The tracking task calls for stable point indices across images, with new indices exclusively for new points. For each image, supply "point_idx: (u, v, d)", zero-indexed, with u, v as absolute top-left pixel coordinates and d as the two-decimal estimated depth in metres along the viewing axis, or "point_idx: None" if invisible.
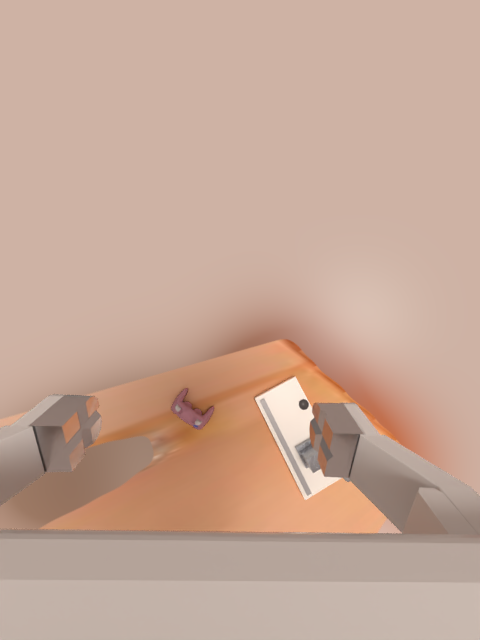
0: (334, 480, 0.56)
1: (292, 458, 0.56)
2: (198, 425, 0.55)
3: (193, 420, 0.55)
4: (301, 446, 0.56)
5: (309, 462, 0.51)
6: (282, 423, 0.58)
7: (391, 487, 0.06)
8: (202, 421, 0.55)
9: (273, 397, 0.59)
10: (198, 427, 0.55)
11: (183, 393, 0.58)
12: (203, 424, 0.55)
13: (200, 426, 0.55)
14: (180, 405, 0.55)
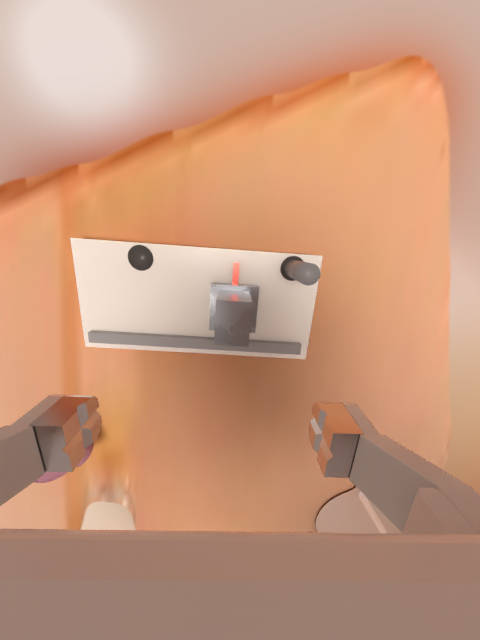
0: (314, 289, 0.25)
1: None
2: None
3: None
4: (211, 317, 0.25)
5: (223, 341, 0.20)
6: (157, 323, 0.26)
7: (391, 487, 0.06)
8: None
9: (97, 309, 0.26)
10: (80, 461, 0.29)
11: None
12: None
13: None
14: None
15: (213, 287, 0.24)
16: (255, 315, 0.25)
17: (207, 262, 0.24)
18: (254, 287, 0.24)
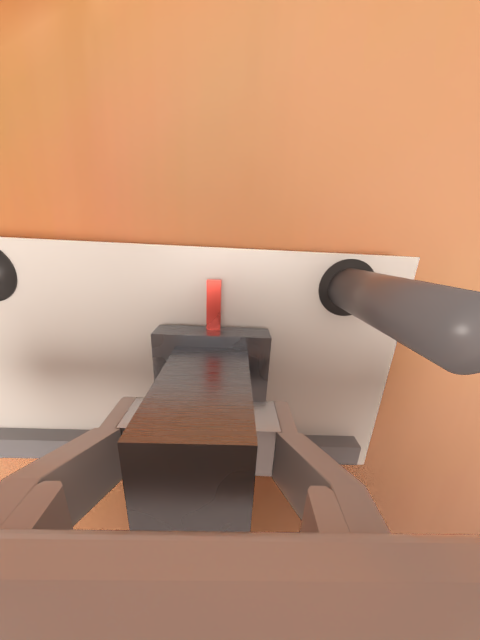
0: None
1: None
2: None
3: None
4: None
5: None
6: (52, 408, 0.12)
7: (300, 485, 0.06)
8: None
9: None
10: None
11: None
12: None
13: None
14: None
15: (157, 342, 0.10)
16: (262, 399, 0.11)
17: (146, 279, 0.10)
18: (259, 338, 0.10)
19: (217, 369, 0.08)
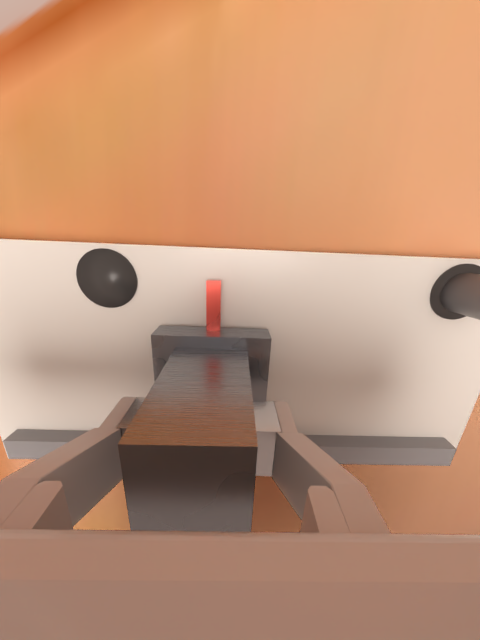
0: None
1: None
2: None
3: None
4: None
5: None
6: None
7: (300, 485, 0.06)
8: None
9: (23, 391, 0.12)
10: None
11: None
12: None
13: None
14: None
15: (157, 343, 0.10)
16: (263, 400, 0.11)
17: (263, 284, 0.10)
18: (259, 338, 0.10)
19: (217, 370, 0.08)
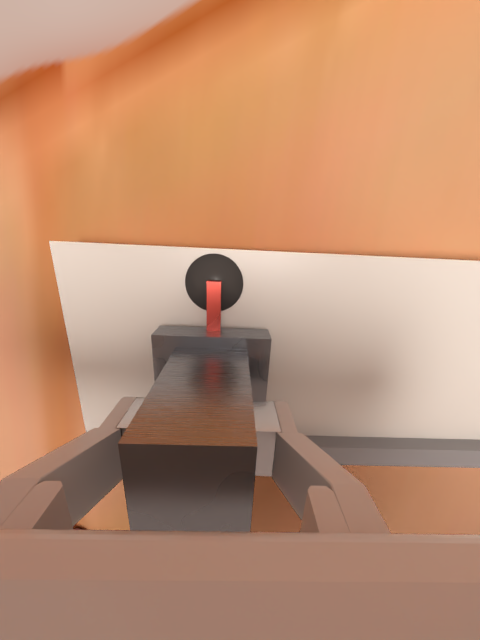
0: None
1: (382, 454, 0.13)
2: None
3: None
4: None
5: None
6: None
7: (300, 485, 0.06)
8: None
9: (115, 393, 0.12)
10: None
11: None
12: None
13: None
14: None
15: (158, 343, 0.10)
16: (262, 400, 0.11)
17: (365, 289, 0.11)
18: (259, 339, 0.10)
19: (217, 370, 0.08)
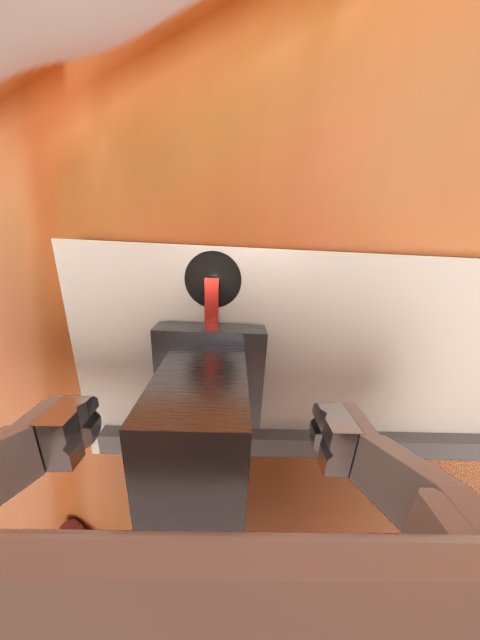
0: None
1: None
2: None
3: None
4: None
5: None
6: None
7: (391, 487, 0.06)
8: None
9: (116, 388, 0.12)
10: None
11: None
12: None
13: None
14: None
15: (156, 338, 0.10)
16: (259, 394, 0.11)
17: (361, 286, 0.11)
18: (256, 334, 0.10)
19: (214, 363, 0.08)
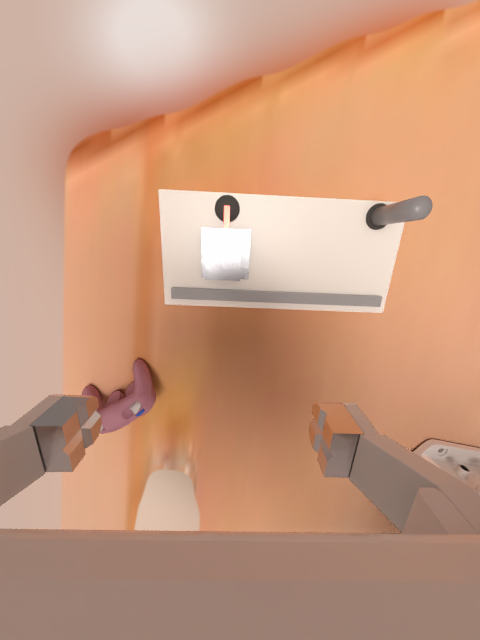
0: (397, 238, 0.25)
1: (306, 297, 0.26)
2: (140, 408, 0.28)
3: (127, 413, 0.28)
4: (203, 264, 0.24)
5: (214, 276, 0.20)
6: None
7: (391, 487, 0.06)
8: (137, 399, 0.28)
9: (179, 265, 0.26)
10: (146, 408, 0.28)
11: None
12: (145, 398, 0.28)
13: (145, 405, 0.28)
14: None
15: (203, 231, 0.23)
16: (247, 260, 0.24)
17: (293, 212, 0.24)
18: (246, 230, 0.23)
19: None
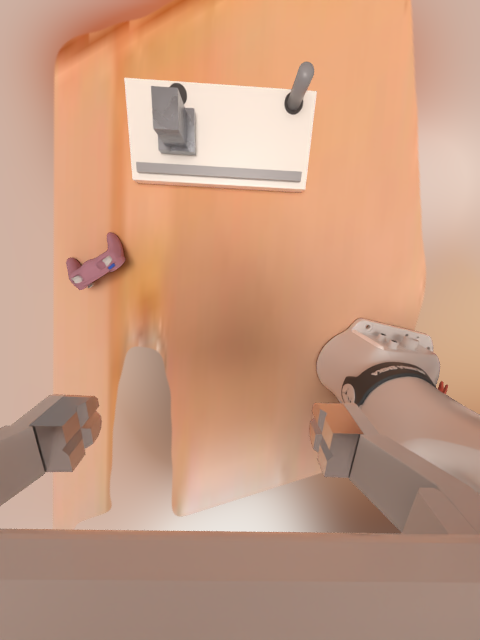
0: (310, 122, 0.33)
1: (242, 171, 0.34)
2: (112, 262, 0.35)
3: (101, 266, 0.35)
4: (159, 138, 0.32)
5: (159, 125, 0.27)
6: (189, 156, 0.34)
7: (391, 487, 0.06)
8: (109, 254, 0.35)
9: (143, 144, 0.33)
10: (116, 264, 0.36)
11: (68, 264, 0.38)
12: (116, 255, 0.36)
13: (116, 260, 0.36)
14: (74, 274, 0.36)
15: None
16: (193, 135, 0.32)
17: (228, 98, 0.32)
18: (190, 109, 0.31)
19: None
